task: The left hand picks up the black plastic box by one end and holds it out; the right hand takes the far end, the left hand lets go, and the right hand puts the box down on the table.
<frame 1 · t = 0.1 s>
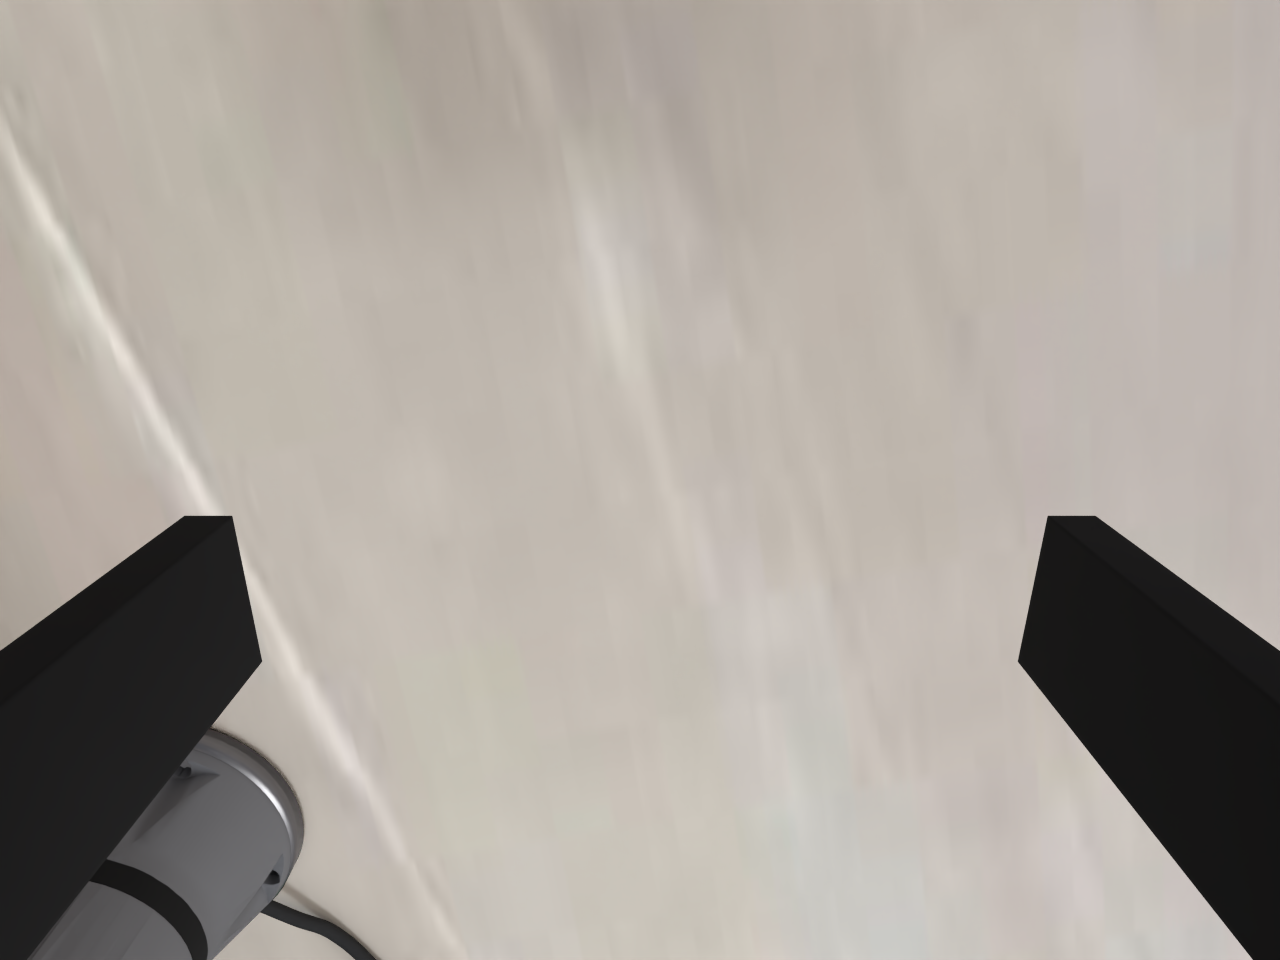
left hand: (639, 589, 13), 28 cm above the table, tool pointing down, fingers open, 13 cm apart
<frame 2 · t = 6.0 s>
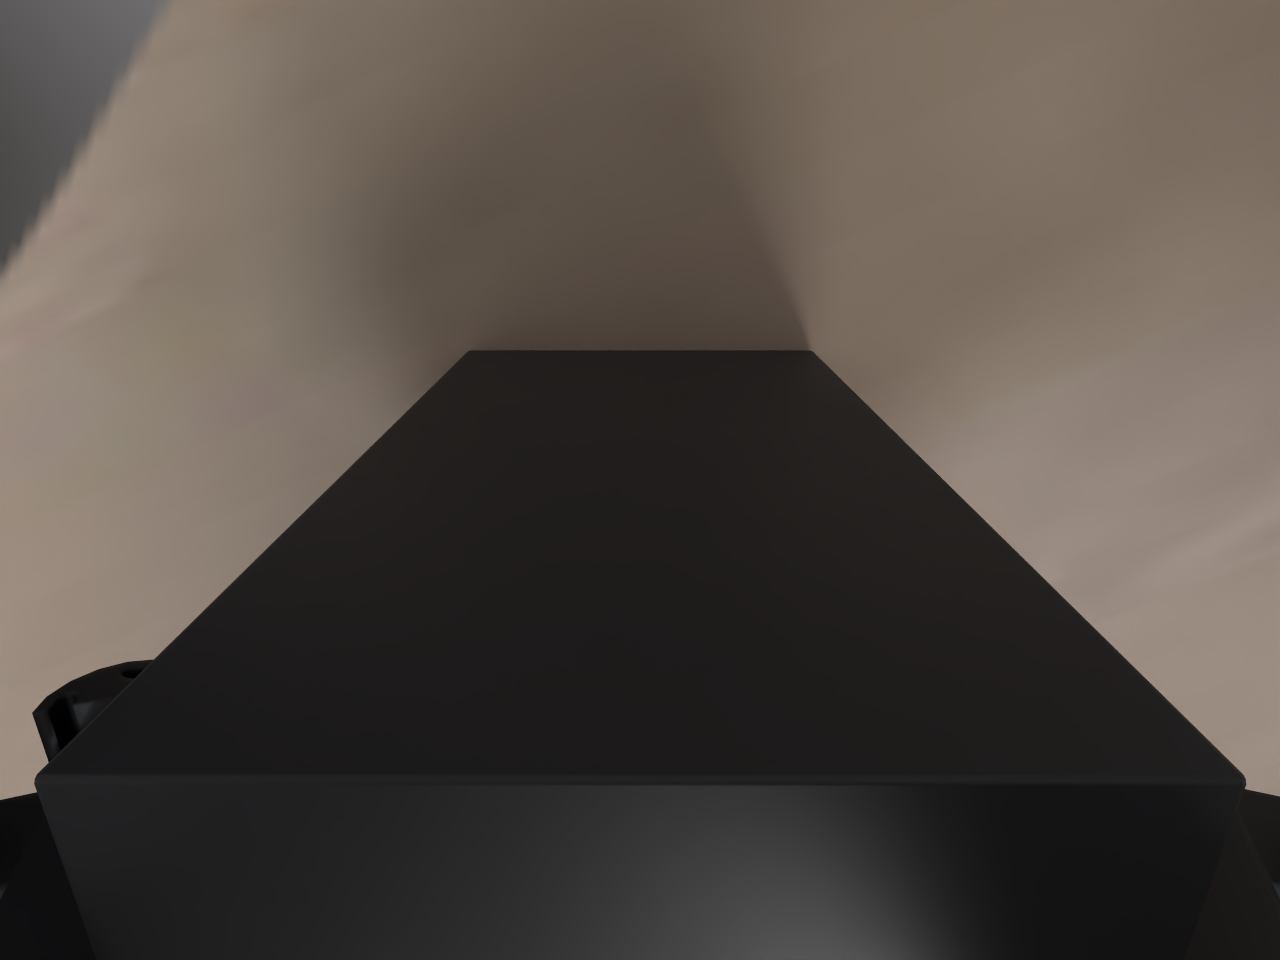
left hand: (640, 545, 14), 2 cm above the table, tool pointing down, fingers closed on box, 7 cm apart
box: (640, 853, 20), on the table, touching left hand
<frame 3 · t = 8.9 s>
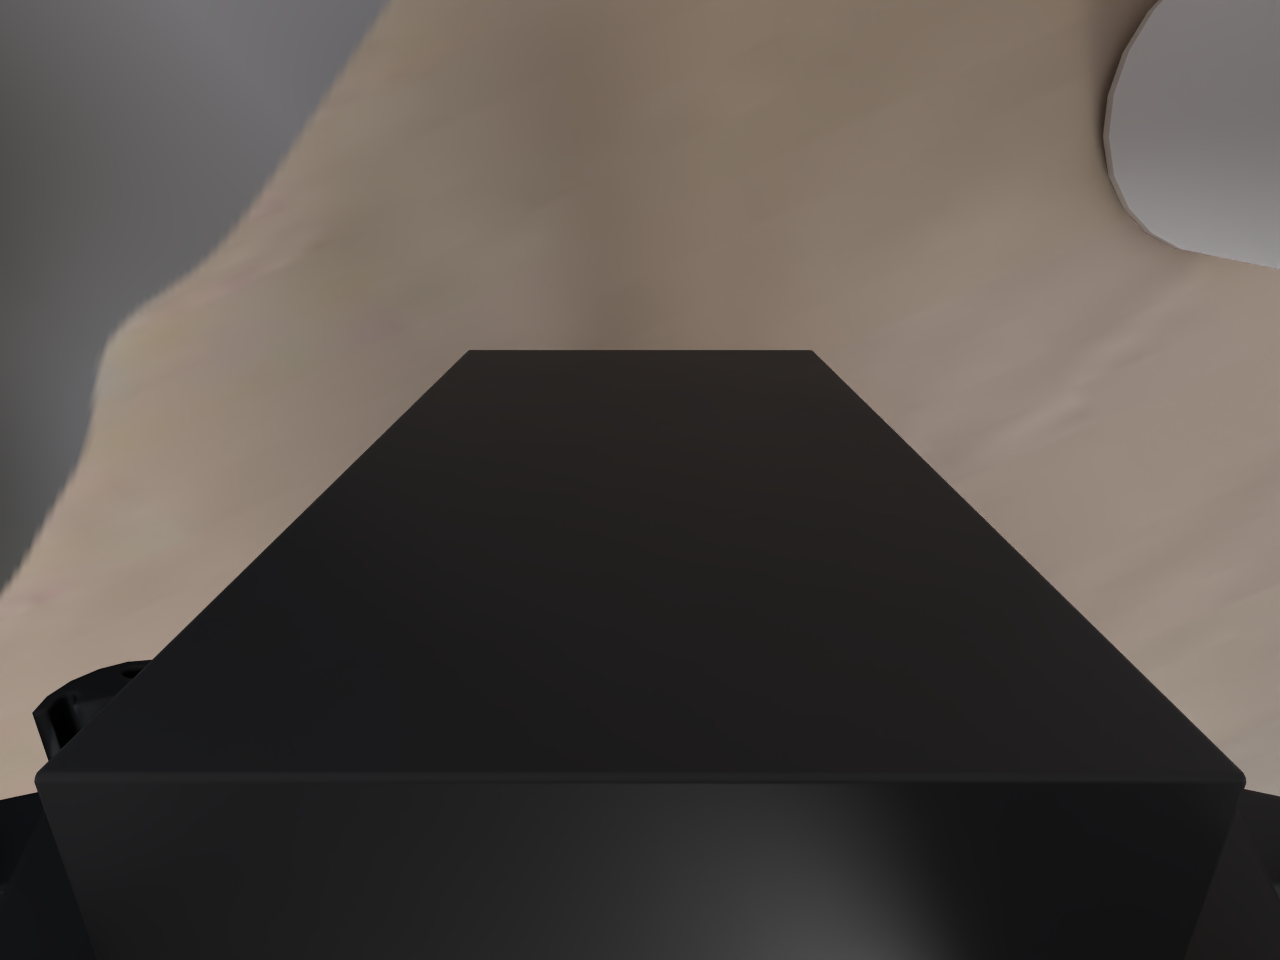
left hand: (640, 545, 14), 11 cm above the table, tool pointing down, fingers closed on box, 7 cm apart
box: (640, 852, 20), point 9 cm above the table, touching left hand
mug: (1277, 105, 22), on the table
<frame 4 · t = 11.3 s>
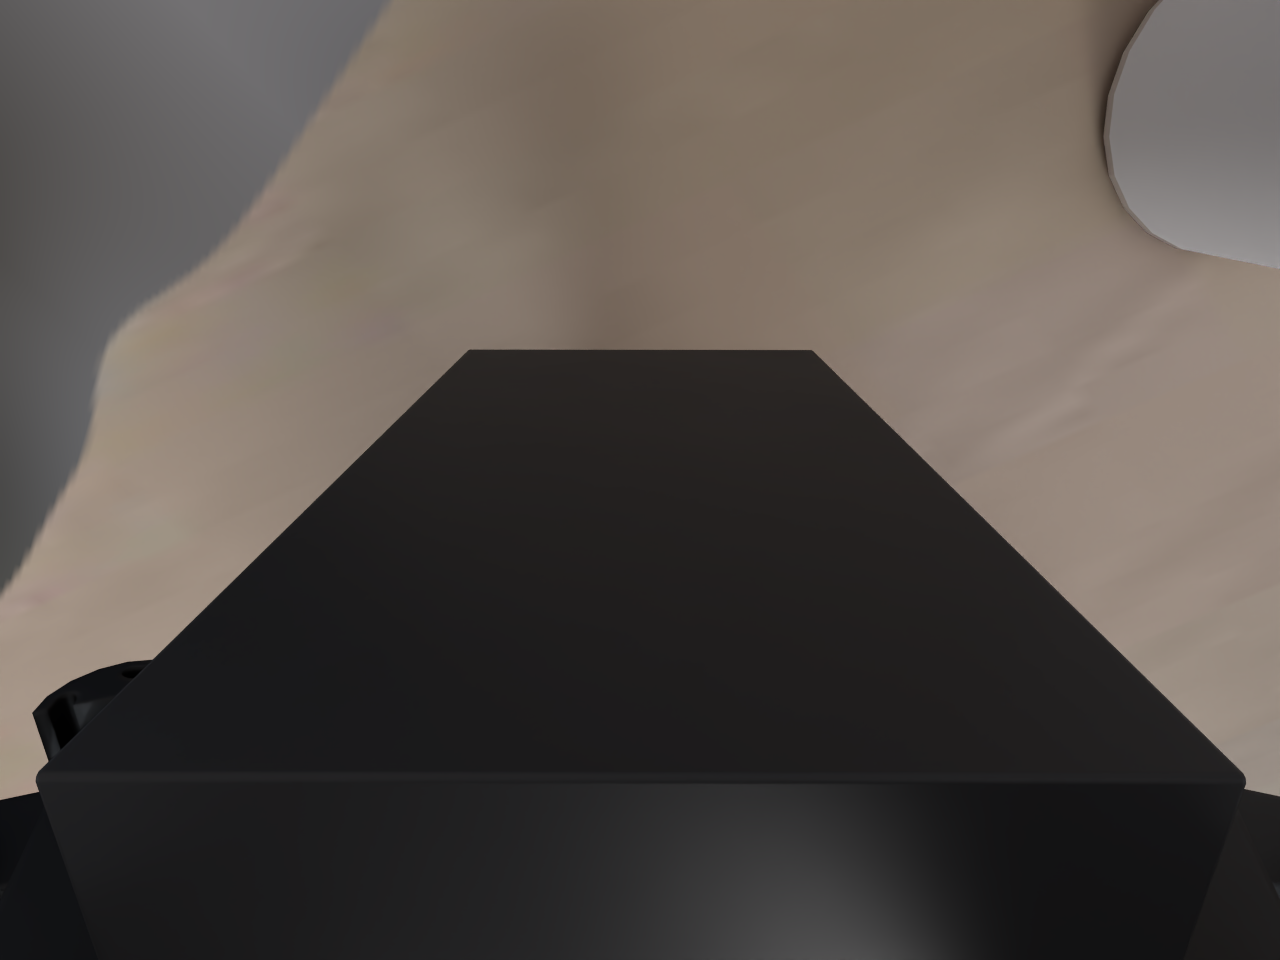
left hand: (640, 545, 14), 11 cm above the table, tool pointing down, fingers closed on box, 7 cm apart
box: (639, 852, 20), point 9 cm above the table, touching left hand, right hand
mug: (1277, 105, 22), on the table
when the left hand's fingers open (11 cm above the table, at t = 12.1 s): box stays where it is, held by the right hand.
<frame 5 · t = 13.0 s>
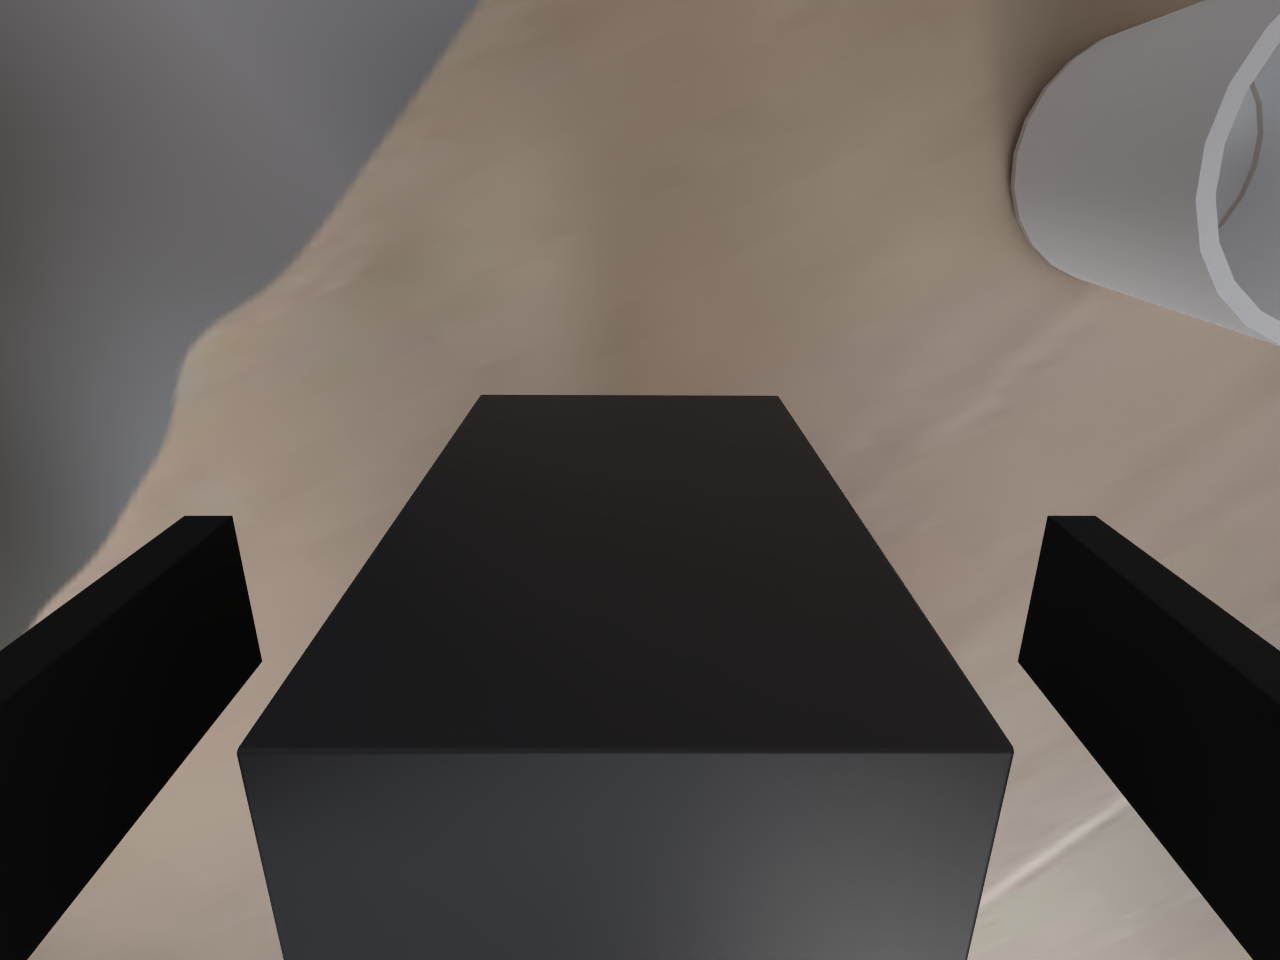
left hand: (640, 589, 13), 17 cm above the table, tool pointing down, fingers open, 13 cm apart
box: (629, 832, 23), point 11 cm above the table, touching right hand
mug: (1152, 162, 27), on the table
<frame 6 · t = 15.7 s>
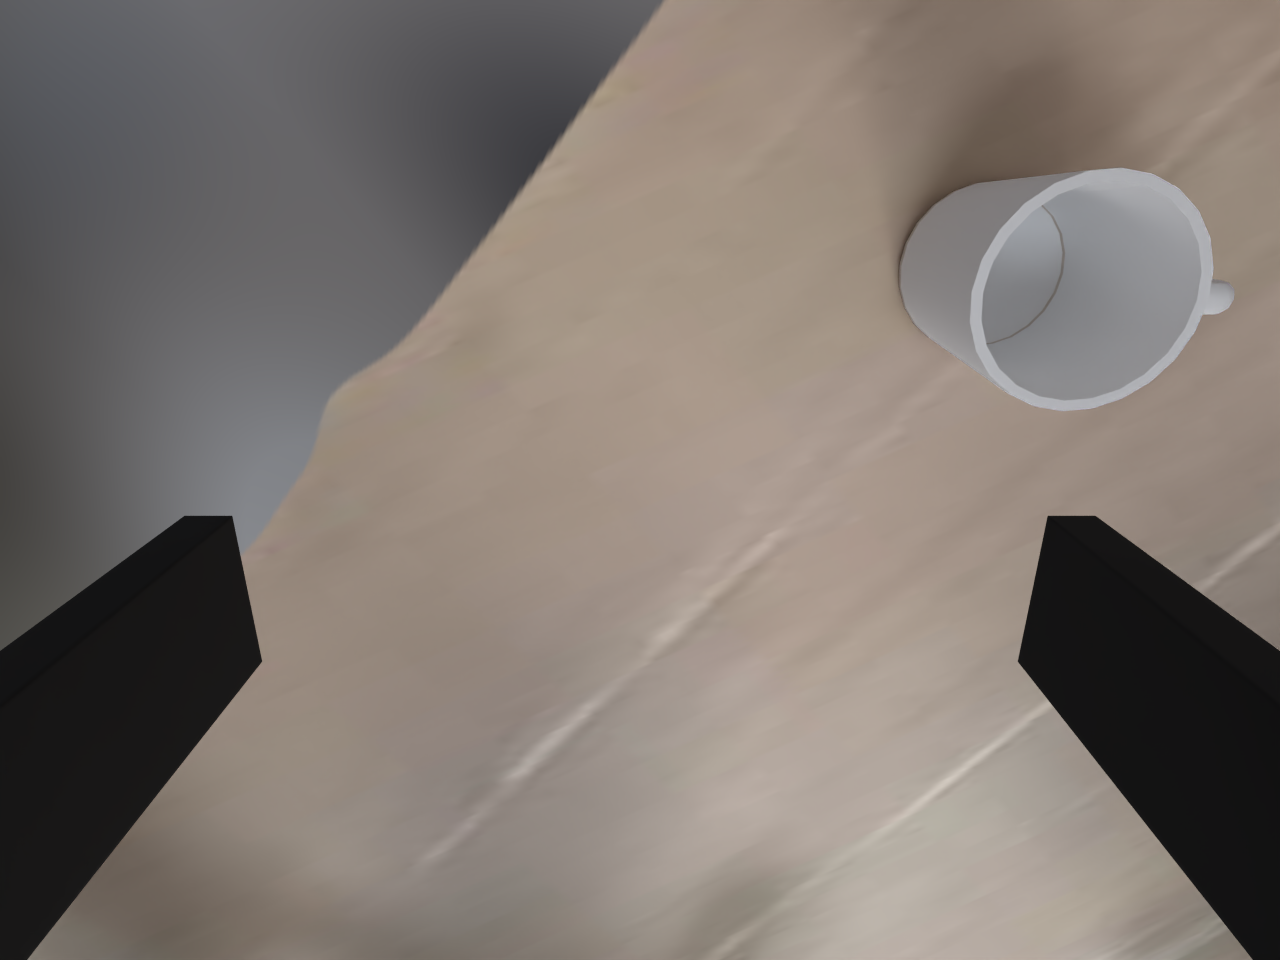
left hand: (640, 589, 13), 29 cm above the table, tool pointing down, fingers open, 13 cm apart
mug: (996, 268, 39), on the table
when the right hand's fingers open (4 cm above the table, at t = 20.2 s): box drops 2 cm, on the table.
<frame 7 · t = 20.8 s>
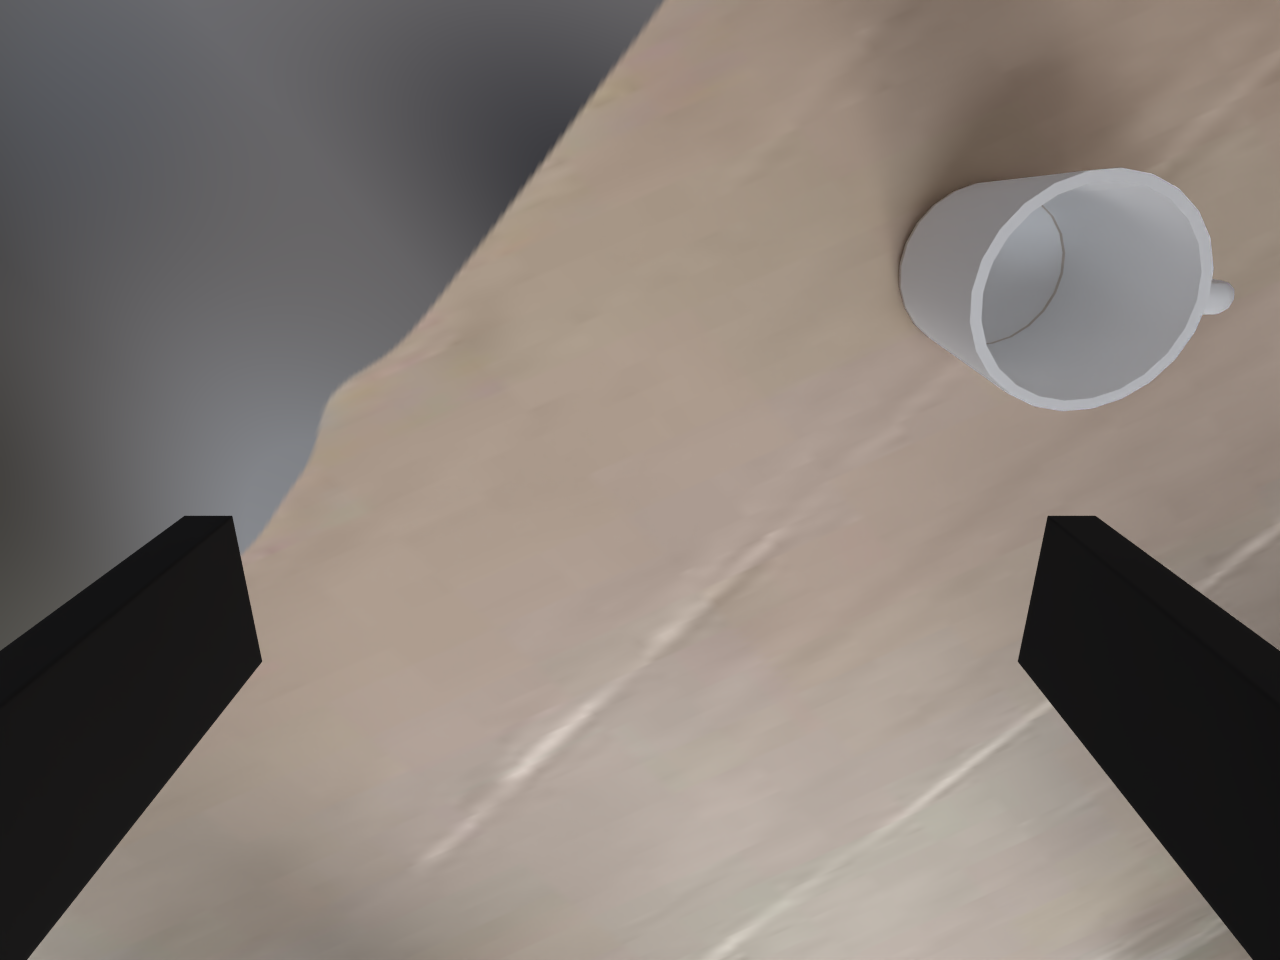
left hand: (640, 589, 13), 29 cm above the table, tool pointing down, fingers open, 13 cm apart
mug: (996, 268, 39), on the table
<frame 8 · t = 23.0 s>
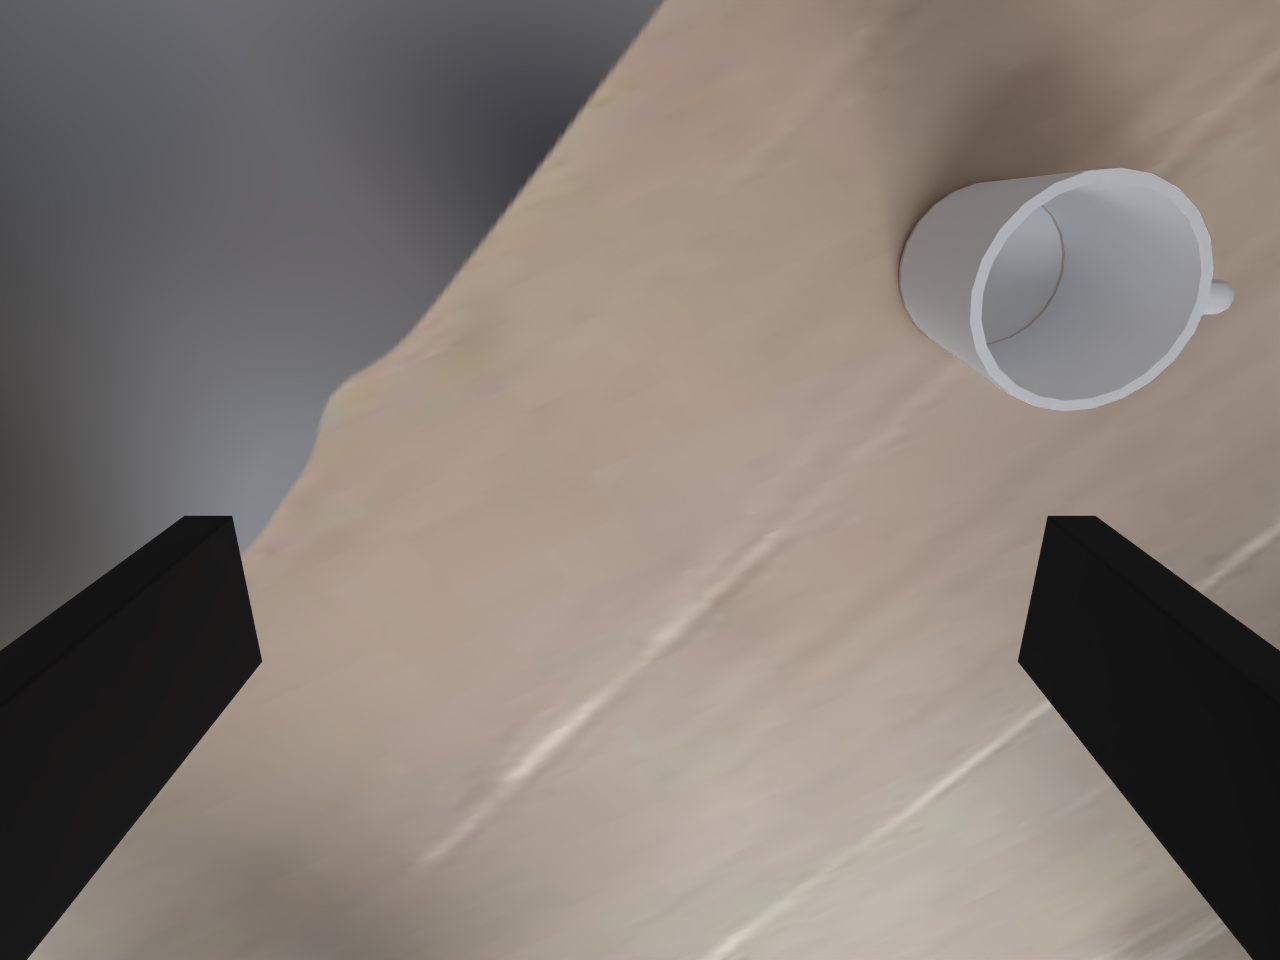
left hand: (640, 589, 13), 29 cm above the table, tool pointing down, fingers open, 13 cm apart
mug: (996, 268, 39), on the table
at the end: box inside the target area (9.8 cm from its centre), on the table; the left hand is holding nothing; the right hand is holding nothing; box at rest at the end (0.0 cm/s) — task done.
